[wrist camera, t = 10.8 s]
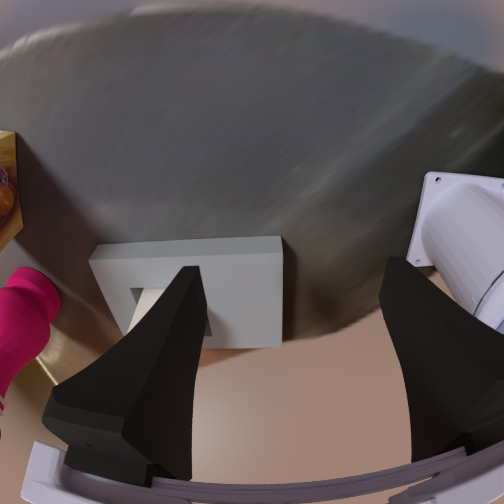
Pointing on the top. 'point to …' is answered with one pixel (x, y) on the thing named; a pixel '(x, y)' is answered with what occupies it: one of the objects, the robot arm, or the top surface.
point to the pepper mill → (24, 322)
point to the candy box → (8, 190)
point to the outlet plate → (214, 282)
